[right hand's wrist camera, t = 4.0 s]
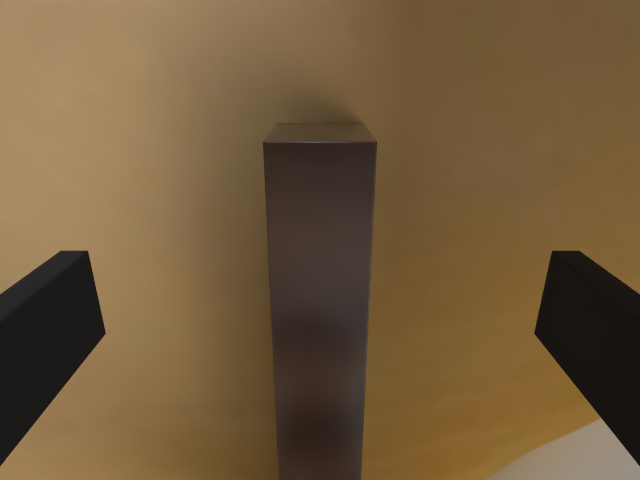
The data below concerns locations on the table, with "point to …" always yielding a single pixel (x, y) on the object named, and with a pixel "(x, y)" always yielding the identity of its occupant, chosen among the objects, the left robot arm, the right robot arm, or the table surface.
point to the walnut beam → (319, 292)
